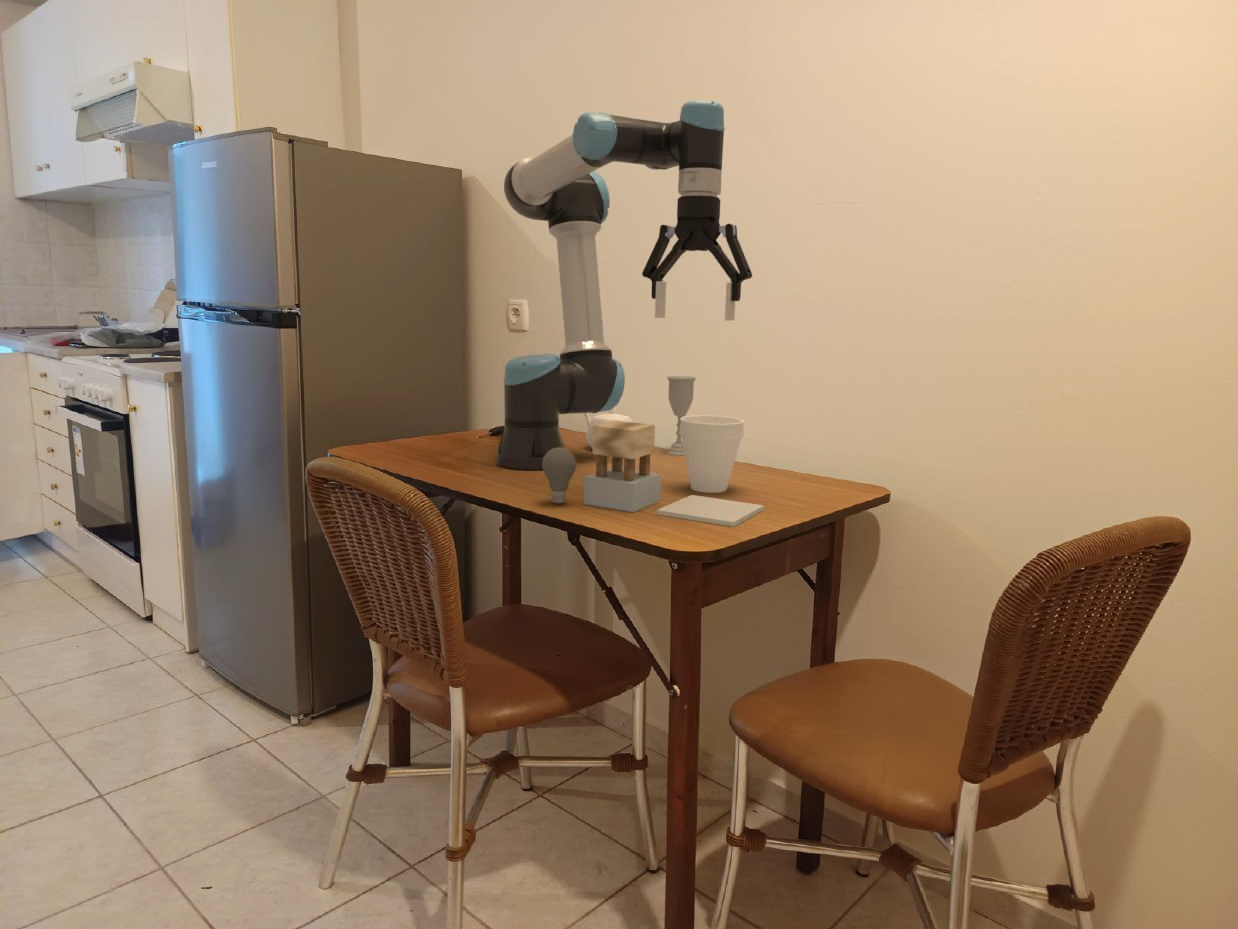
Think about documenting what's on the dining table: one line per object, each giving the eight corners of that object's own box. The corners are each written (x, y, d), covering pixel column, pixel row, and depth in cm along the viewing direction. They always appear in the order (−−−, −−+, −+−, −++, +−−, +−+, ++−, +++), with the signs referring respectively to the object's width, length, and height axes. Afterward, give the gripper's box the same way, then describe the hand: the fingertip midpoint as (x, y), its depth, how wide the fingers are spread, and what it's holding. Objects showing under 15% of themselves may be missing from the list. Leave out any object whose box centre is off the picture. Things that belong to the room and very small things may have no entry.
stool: (592, 476, 154) (593, 425, 152) (614, 469, 161) (616, 420, 159) (631, 482, 150) (633, 430, 148) (653, 474, 157) (655, 424, 155)
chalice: (690, 456, 203) (694, 379, 200) (662, 454, 205) (664, 378, 201) (694, 451, 210) (697, 376, 207) (666, 449, 212) (669, 375, 208)
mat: (656, 514, 149) (656, 509, 148) (691, 499, 160) (691, 494, 160) (733, 526, 142) (733, 522, 142) (763, 509, 154) (764, 505, 154)
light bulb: (548, 508, 151) (548, 451, 149) (537, 500, 156) (537, 445, 154) (580, 505, 153) (581, 449, 151) (568, 498, 158) (569, 444, 157)
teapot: (563, 445, 214) (564, 404, 212) (601, 440, 222) (602, 401, 220) (619, 458, 200) (620, 414, 198) (657, 452, 208) (658, 410, 206)
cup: (751, 494, 166) (755, 423, 163) (690, 497, 162) (693, 424, 159) (725, 481, 177) (728, 414, 174) (668, 483, 174) (670, 415, 171)
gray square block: (583, 504, 154) (584, 476, 153) (612, 493, 163) (612, 467, 162) (633, 512, 150) (634, 483, 149) (659, 501, 158) (660, 474, 157)
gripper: (626, 196, 155) (623, 316, 159) (759, 191, 144) (752, 321, 148) (645, 200, 162) (641, 316, 166) (774, 196, 150) (767, 321, 154)
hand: (694, 319), depth 157 cm, fingers open, 13 cm apart
